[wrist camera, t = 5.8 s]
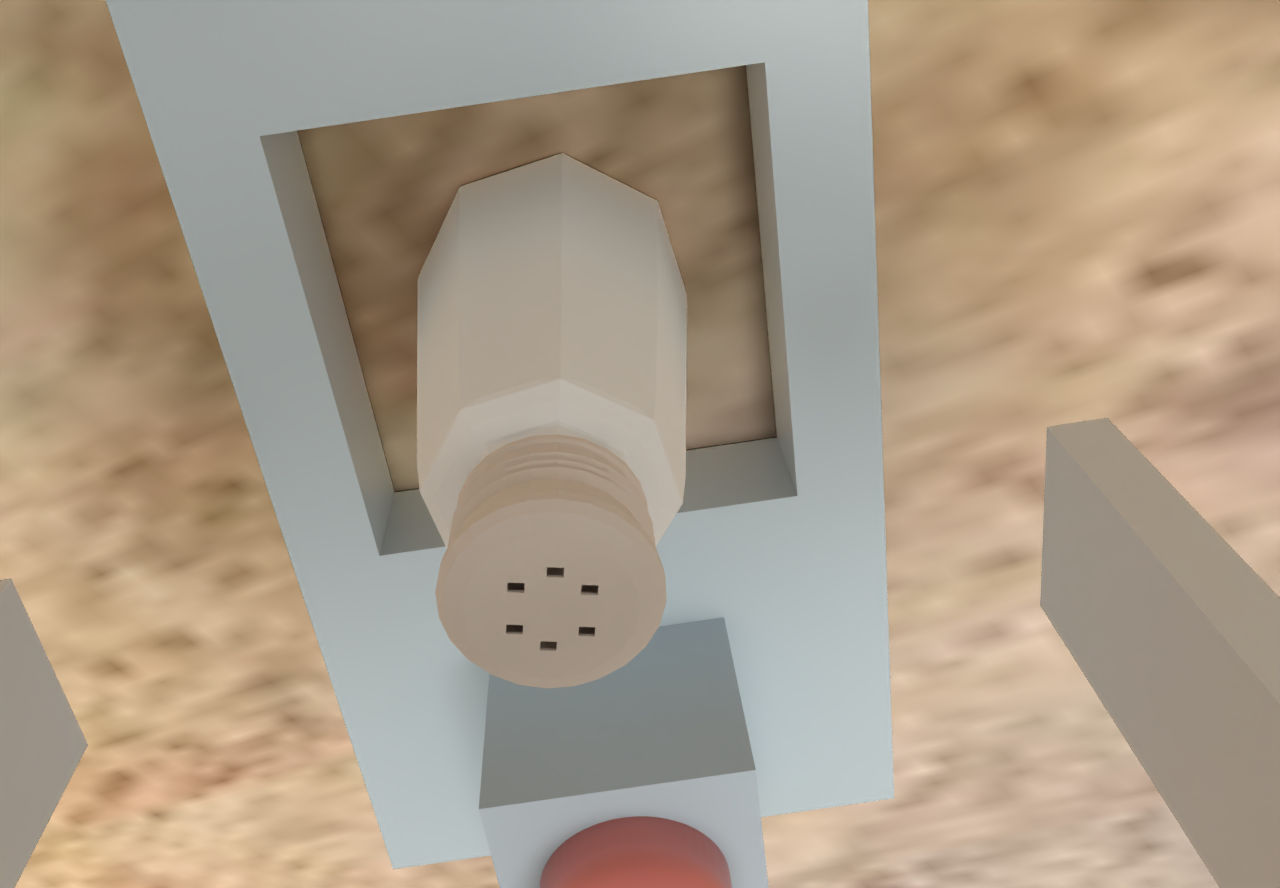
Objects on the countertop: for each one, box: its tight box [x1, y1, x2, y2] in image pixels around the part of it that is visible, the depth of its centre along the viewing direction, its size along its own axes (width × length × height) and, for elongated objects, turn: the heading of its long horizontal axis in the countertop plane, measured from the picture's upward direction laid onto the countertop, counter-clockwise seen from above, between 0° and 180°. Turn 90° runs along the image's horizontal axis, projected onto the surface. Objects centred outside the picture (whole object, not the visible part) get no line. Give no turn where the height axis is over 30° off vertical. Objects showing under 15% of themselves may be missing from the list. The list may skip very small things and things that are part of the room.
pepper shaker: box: [417, 153, 687, 688], centre depth 19 cm, size 5×5×11 cm
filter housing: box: [106, 0, 894, 888], centre depth 22 cm, size 20×12×7 cm, turn 8°
